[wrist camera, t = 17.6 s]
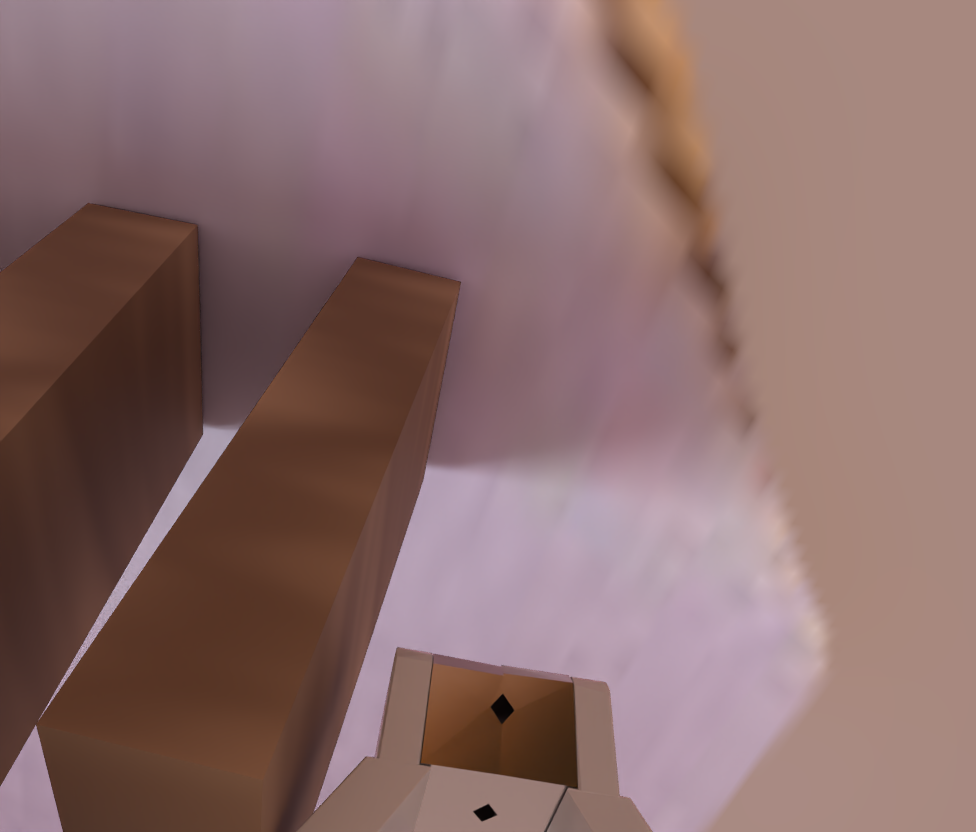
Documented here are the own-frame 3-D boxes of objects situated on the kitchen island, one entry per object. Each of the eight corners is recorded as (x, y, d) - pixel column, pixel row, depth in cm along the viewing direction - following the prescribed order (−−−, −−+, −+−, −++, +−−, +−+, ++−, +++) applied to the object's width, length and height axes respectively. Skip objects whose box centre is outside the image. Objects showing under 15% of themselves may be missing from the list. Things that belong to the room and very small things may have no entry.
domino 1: (197, 224, 15) (-225, 689, 7) (202, 434, 18) (-86, 934, 10) (88, 203, 15) (-479, 649, 6) (112, 417, 18) (-259, 910, 9)
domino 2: (460, 282, 15) (263, 780, 7) (423, 480, 18) (252, 995, 10) (357, 257, 15) (35, 724, 7) (336, 459, 18) (94, 956, 10)
